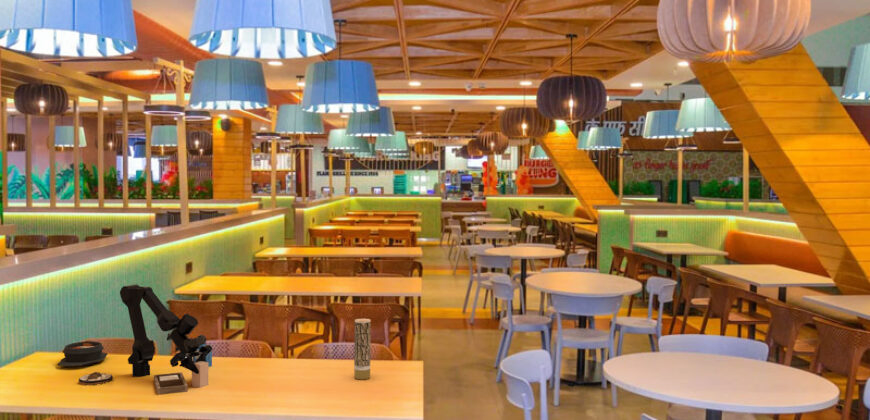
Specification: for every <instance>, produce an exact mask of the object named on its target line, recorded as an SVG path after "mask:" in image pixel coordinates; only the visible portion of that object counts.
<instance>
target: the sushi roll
mask: <svg viewBox="0 0 870 420" xmlns="http://www.w3.org/2000/svg"><path fill="white" fill-rule="evenodd" d="M111 381H113V374H112V373H105V372H99V371H94V372H93V373H89V374H85V375H82V376H81V377H79V378H78V382H79V383H80V385H82V384H83V385H84V386H87V385H89V386H91V385H92V386H98V385H97V384H101V385H103V383H104V384H107V383H106V382H108V383H110V382H111Z"/></svg>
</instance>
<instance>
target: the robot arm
mask: <svg viewBox="0 0 870 420" xmlns="http://www.w3.org/2000/svg"><path fill="white" fill-rule="evenodd" d="M119 296H120V299H121V302H122V303H123V304H124V305H125V306H126V308H127V311H128V316H129V319H130V325H131V330H132V335H133V339H134V341H133V345H132V348H131V349H132V351H131V352H132V353H131V354H130V355H129V356H128V358H127V364H128V365H132V367H131V368H132V369H131V371H132V372H131V373H132V375H131V376H132V377H133V378H141V377H142V378H143V377H146V376H147V377H148V376H150V375H151V364H150V363H149V362H152V361H153V360H154V356H155V353H156V347H155V342H154V340H153V339H152V340H150V339H149V337H148V336H147V329H146V326H145V322H144V321H145V320H144V316H143V312H142V306H141V302H142V300H143V301H144V303H145V304H146V305H147V306H148V308H149V309H150V311H151V312H152V313H153V314H154V315H155V317H156V322H157V324H158V326H159V329H160V330H161V331H162V332H169V333H167V337H166V341H172V342H173V344H174V345H175V346H176V348H175V350H176V353H175V354H173V356H172V357H171V359H170V360H169V364H170V365H171V367H172V368H174V367H177V366H179V367H182V368H185V369H186V370H188V371H191V373H192V372H194V373H196V374H198V373H199V370H198V369H197V367H196V365H195V364H194V362H193V357H196V359H197V360H196V361H195V362H199V361H202V362H206V356H207V355H208V354H209V353H210V352H212V351H213V350H214V349H213V346H212V345H211V344H207V345H205V346H202V347H201V348H200V349H199V350H198V351H197V349H198V348H199V346H200V345H202V344H205V342H206V343H207V337H206V336H205V334H199V335H198V336H197V337H195V338H192V337H189V335H190V334H191V333H192V332H193V331H194V330H195V328H196V327H197V326H198V324H199V321H198V319H197V317H195V316H193V315H190V313H185V314H183V316H182V317H181V318H179V317H178V315H176V314H175V313H174V312H172V311H170V310H168V308H166V306H165V305H164V304H163V302H162V301H161V300H160V298H159V297H158V296H157V295H156V293H154V290H153V287H150V286H140V285H139V284H131V285H130V284H129V285H124V286H122V287H121V288H120V290H119ZM170 331H171V332H170ZM178 351H179V352H178ZM179 362H180V364H179Z"/></svg>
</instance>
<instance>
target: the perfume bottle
mask: <svg viewBox="0 0 870 420" xmlns="http://www.w3.org/2000/svg"><path fill="white" fill-rule="evenodd" d="M205 345H208V344H207V341H206V342H205V344H202V345H200V346H199V348H198V349H197V351H198V350H199V349H200V348H201V347H202V346H205ZM192 359H193V362H194V363H196V362H195V361H196V360H197V359H196V357H192ZM206 362H208V368H211V367H213V352H212V351H211V352H210V353H209V354H208V355H207V356H206Z"/></svg>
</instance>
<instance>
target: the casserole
mask: <svg viewBox="0 0 870 420" xmlns="http://www.w3.org/2000/svg"><path fill="white" fill-rule="evenodd" d="M104 349H105V347H104V346H103V345H102V342H100V341H91V340H90V341H79V342H74V343H68V344H66V345H64V348H63V350H62V352H61V353H63V354H64V357H63V358H62V359H60V362H59V361H58V363H57V365H58V366H61V367H81V366H83V367H84V365H85V366H90V364H91V365H93V364H97V363H99V362H101V361H104V360H106V358H107V356H108V353H107V352H103V350H104Z"/></svg>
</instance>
